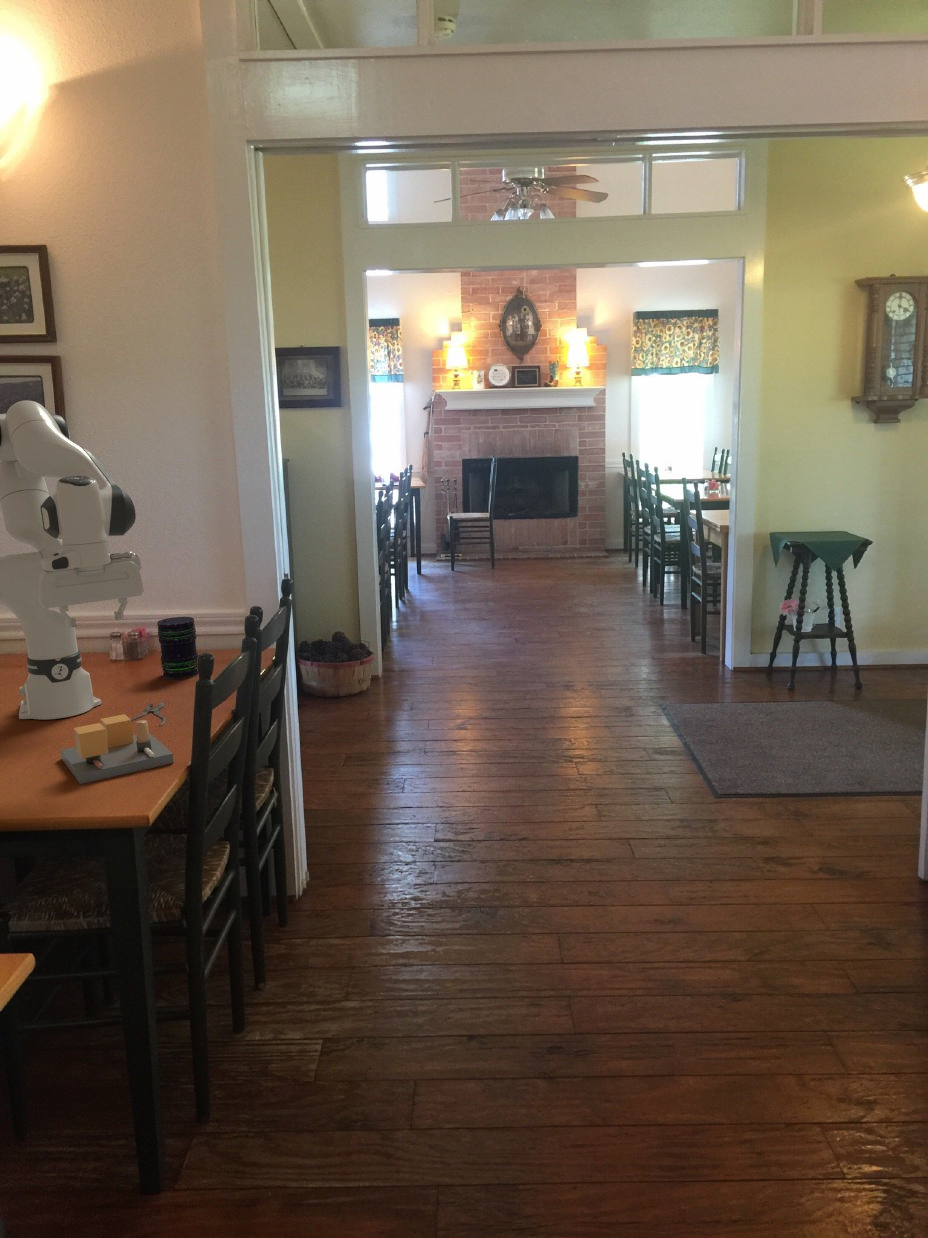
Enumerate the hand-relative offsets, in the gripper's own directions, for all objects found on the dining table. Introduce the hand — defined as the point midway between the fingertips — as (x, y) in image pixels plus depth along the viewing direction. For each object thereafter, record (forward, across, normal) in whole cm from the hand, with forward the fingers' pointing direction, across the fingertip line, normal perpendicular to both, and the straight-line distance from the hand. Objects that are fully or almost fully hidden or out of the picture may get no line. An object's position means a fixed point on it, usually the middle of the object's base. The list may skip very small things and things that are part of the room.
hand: (96, 623), depth 202 cm
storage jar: (+26, -31, -54) cm, 67 cm away
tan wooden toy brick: (+25, -1, +1) cm, 25 cm away
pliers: (+27, -12, -21) cm, 36 cm away
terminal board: (+28, +1, +7) cm, 29 cm away
